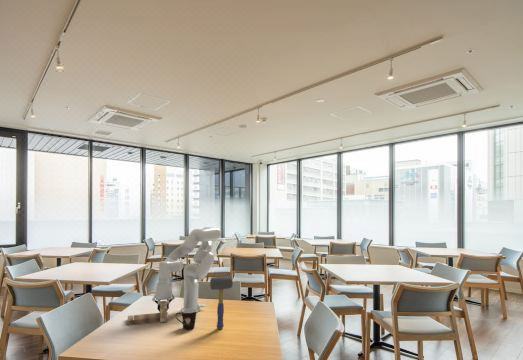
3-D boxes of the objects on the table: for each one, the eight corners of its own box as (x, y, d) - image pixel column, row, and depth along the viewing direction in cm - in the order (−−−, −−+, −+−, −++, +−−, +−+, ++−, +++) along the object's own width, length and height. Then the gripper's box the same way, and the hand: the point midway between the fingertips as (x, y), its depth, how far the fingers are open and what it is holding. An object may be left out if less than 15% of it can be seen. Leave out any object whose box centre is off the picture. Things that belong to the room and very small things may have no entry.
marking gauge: (164, 315, 213) (165, 299, 214) (167, 322, 200) (168, 305, 201) (158, 315, 211) (159, 300, 212) (160, 322, 199) (161, 305, 199)
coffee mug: (199, 327, 193) (199, 309, 194) (190, 331, 186) (190, 313, 186) (183, 324, 198) (184, 307, 199) (173, 328, 190) (174, 310, 191)
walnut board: (165, 316, 212) (166, 311, 213) (167, 320, 203) (167, 316, 203) (127, 319, 204) (127, 315, 204) (127, 325, 195) (128, 320, 195)
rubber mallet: (228, 325, 197) (229, 274, 200) (232, 329, 190) (233, 277, 193) (208, 327, 193) (209, 275, 195) (211, 332, 186) (212, 278, 188)
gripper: (176, 279, 216) (175, 307, 214) (150, 280, 209) (148, 310, 208) (178, 281, 209) (177, 310, 207) (151, 283, 202) (149, 313, 201)
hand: (163, 310), depth 207 cm, fingers closed on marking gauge, 4 cm apart
